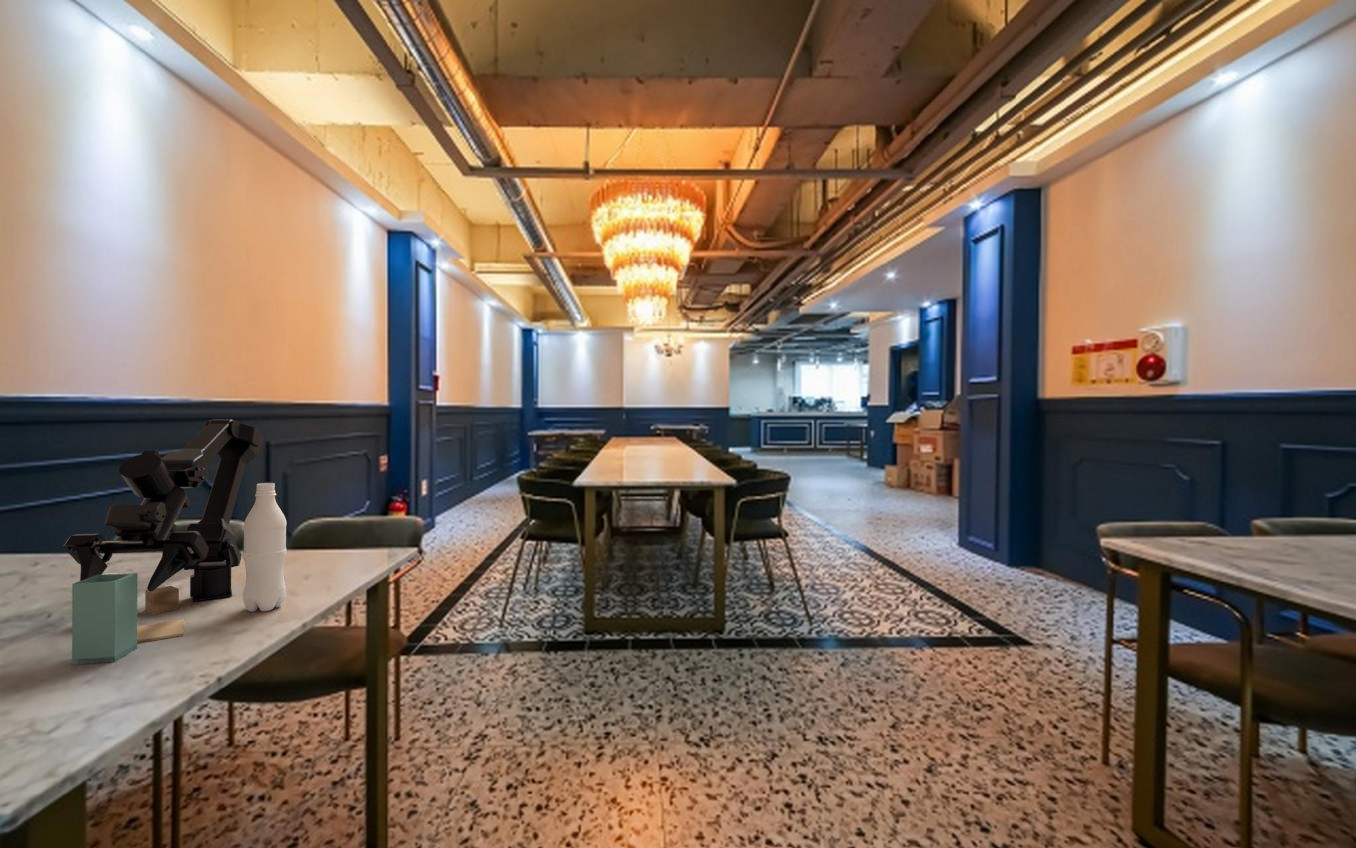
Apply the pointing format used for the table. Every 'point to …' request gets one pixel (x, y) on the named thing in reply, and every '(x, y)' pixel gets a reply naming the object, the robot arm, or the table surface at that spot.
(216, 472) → the robot arm
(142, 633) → the coaster
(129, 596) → the pot
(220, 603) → the table surface
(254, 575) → the water bottle
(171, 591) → the walnut block
